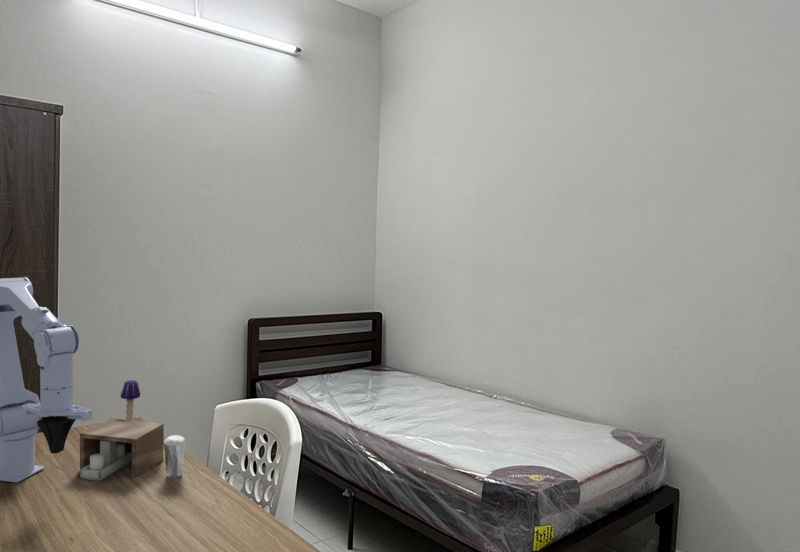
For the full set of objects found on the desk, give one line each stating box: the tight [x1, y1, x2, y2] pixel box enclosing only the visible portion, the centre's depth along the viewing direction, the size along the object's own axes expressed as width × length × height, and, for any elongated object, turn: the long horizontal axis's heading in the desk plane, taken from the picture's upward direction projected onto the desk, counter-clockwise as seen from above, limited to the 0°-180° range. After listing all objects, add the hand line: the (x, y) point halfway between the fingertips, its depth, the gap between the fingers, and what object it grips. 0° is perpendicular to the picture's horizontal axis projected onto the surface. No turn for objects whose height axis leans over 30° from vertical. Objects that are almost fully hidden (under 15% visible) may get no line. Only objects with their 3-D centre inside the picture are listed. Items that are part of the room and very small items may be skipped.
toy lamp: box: [120, 379, 141, 421], centre depth 149 cm, size 5×5×17 cm
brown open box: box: [79, 418, 165, 478], centre depth 137 cm, size 14×11×9 cm
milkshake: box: [163, 433, 188, 479], centre depth 132 cm, size 4×5×10 cm
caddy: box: [79, 440, 132, 482], centre depth 134 cm, size 5×12×7 cm, turn 171°
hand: (57, 451), depth 118 cm, fingers closed
